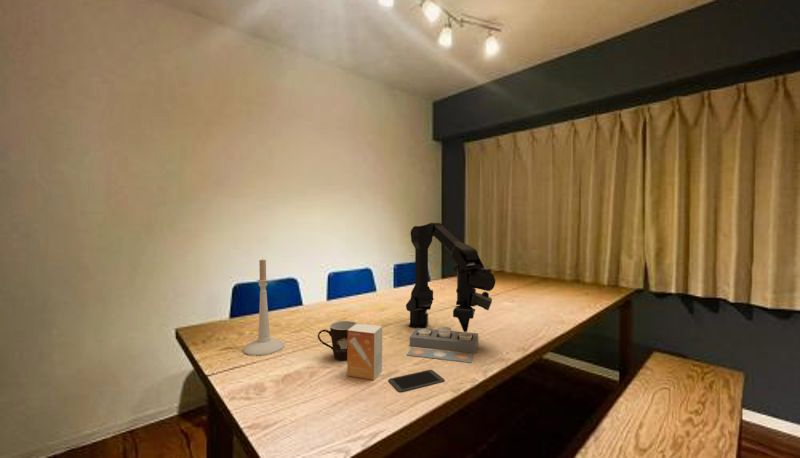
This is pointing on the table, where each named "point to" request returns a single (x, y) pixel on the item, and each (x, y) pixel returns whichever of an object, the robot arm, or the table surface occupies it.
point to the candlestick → (263, 323)
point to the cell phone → (415, 380)
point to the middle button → (444, 332)
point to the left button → (424, 332)
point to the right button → (465, 336)
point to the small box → (364, 351)
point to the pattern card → (440, 355)
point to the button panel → (444, 341)
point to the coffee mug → (339, 338)
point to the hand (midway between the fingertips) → (465, 331)
